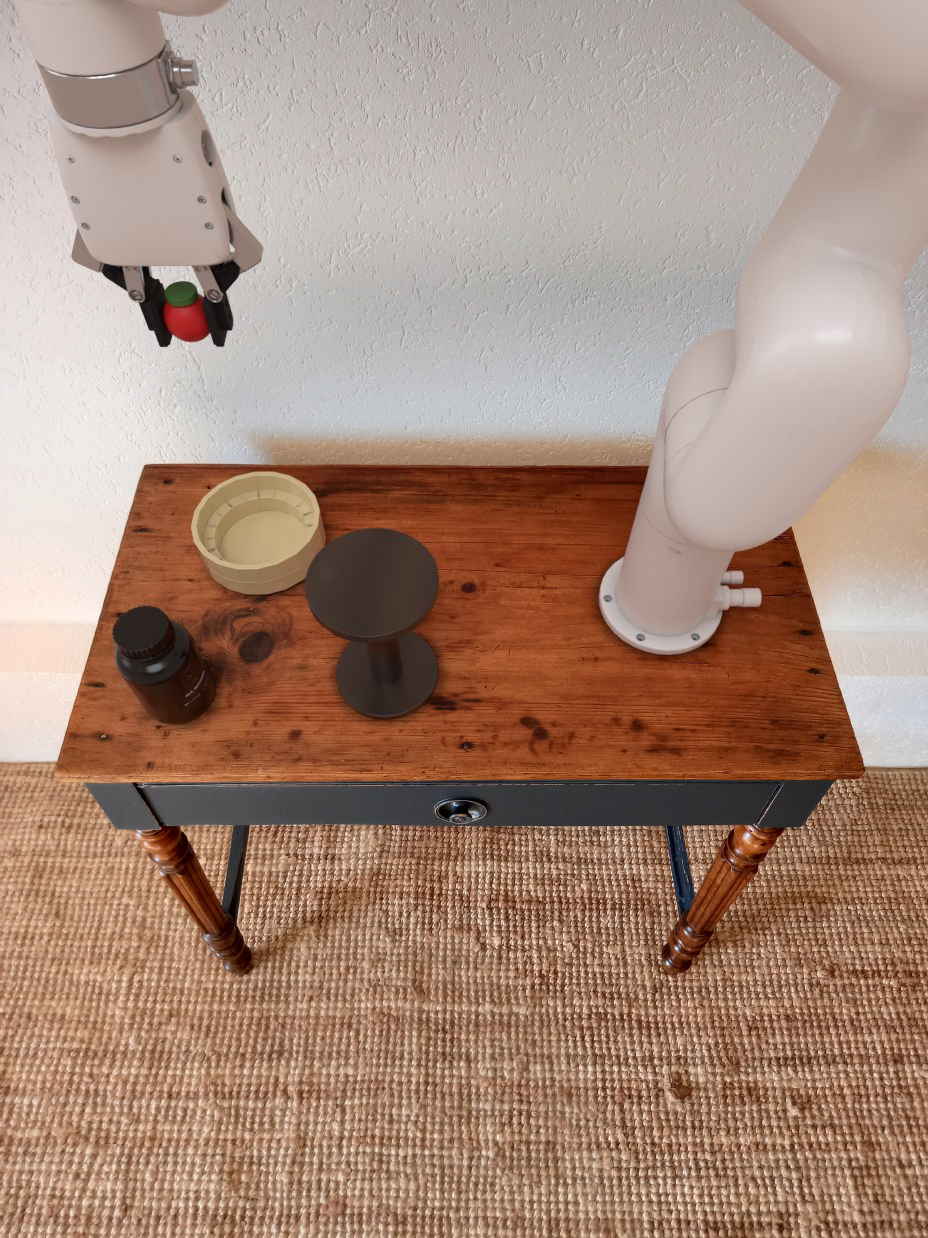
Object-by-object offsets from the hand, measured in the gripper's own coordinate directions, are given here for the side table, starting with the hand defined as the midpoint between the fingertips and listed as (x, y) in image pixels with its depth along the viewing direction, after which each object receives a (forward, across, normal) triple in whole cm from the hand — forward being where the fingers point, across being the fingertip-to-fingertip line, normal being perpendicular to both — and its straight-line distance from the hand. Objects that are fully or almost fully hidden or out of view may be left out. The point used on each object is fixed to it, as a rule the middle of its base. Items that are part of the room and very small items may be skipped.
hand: (194, 333), depth 64 cm
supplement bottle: (+28, +6, +18) cm, 34 cm away
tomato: (0, 0, 0) cm, 0 cm away
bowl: (+28, 0, 0) cm, 28 cm away
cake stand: (+28, -14, +16) cm, 35 cm away
